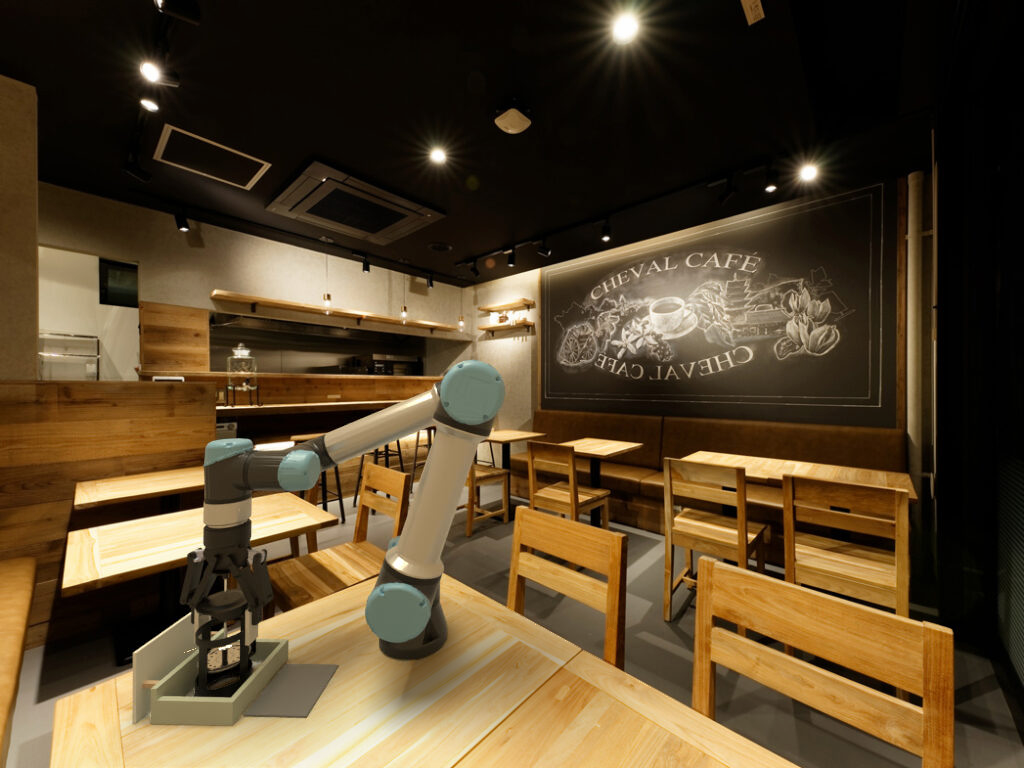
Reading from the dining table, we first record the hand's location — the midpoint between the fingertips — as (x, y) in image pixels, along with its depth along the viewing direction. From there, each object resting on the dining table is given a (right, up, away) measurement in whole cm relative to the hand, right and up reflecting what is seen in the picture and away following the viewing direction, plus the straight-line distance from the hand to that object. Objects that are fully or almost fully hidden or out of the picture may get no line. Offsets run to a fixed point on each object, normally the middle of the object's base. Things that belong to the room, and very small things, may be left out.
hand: (226, 640), depth 78 cm
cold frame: (-2, -9, 0) cm, 9 cm away
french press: (0, -9, 0) cm, 9 cm away
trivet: (+13, -9, 0) cm, 16 cm away
